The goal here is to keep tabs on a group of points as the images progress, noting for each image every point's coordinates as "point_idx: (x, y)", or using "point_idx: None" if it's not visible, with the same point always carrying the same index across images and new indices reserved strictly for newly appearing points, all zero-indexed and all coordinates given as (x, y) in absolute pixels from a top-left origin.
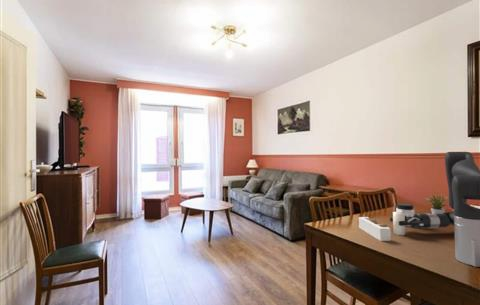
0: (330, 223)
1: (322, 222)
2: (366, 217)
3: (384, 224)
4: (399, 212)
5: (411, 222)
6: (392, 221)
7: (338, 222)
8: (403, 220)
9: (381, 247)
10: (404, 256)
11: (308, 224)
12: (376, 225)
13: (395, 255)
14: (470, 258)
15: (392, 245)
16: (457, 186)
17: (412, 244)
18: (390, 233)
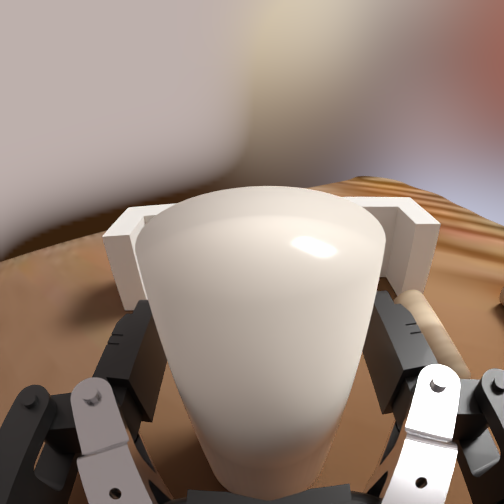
0: (423, 208)
1: (425, 197)
2: (420, 217)
3: (445, 360)
4: (298, 242)
5: (33, 387)
6: (364, 350)
7: (455, 226)
8: (168, 363)
9: (86, 253)
10: (6, 273)
11: (379, 177)
12: None
13: (25, 259)
14: None
15: (76, 288)
16: None
17: (31, 371)
18: (112, 269)
